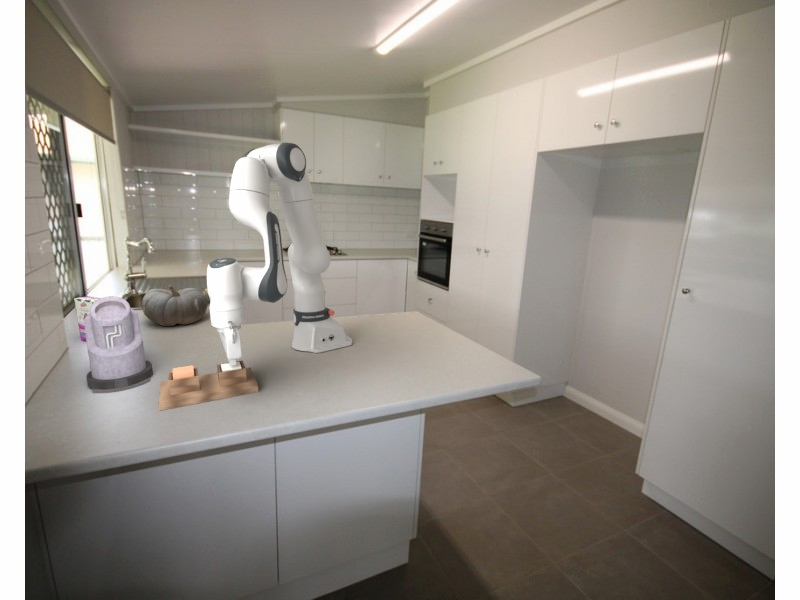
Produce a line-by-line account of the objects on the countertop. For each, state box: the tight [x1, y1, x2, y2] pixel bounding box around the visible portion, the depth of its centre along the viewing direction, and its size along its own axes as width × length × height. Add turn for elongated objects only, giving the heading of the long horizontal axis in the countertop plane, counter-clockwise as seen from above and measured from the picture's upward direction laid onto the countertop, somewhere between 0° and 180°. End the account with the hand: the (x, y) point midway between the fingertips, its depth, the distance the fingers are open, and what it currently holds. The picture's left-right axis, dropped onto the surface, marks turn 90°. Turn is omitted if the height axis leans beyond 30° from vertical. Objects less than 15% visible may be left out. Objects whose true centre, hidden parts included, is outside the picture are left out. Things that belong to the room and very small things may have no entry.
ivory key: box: [220, 362, 242, 372], centre depth 115 cm, size 5×5×3 cm
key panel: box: [158, 360, 259, 411], centre depth 112 cm, size 24×14×6 cm, turn 118°
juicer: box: [84, 295, 154, 394], centre depth 121 cm, size 30×16×24 cm, turn 35°
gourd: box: [141, 284, 209, 327], centre depth 174 cm, size 25×25×17 cm
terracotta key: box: [172, 364, 195, 380], centre depth 109 cm, size 5×5×3 cm
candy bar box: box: [73, 295, 102, 342], centre depth 149 cm, size 11×5×16 cm, turn 68°
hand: (232, 363), depth 114 cm, fingers closed
